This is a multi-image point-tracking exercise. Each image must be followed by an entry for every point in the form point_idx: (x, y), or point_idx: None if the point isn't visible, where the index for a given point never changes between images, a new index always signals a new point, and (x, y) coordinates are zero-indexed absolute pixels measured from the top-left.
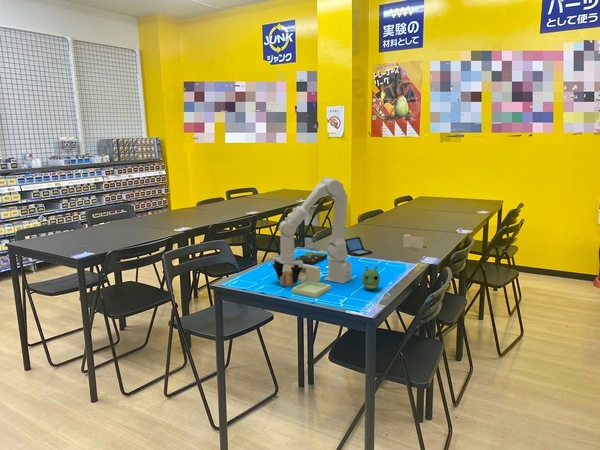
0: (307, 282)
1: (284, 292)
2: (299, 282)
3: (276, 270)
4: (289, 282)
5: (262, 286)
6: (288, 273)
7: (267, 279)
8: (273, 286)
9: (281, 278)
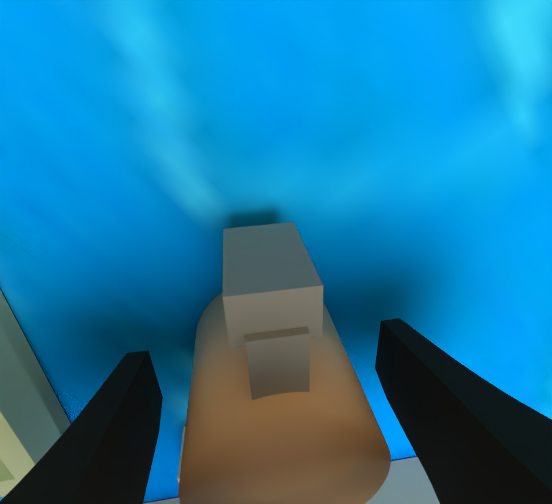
0: (12, 453)
1: (24, 32)
2: None
3: (526, 428)
4: (205, 335)
5: (520, 60)
6: (255, 472)
7: (547, 304)
8: (371, 166)
9: (268, 278)
